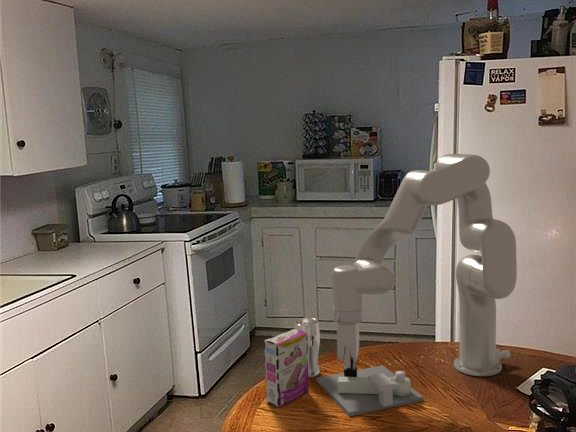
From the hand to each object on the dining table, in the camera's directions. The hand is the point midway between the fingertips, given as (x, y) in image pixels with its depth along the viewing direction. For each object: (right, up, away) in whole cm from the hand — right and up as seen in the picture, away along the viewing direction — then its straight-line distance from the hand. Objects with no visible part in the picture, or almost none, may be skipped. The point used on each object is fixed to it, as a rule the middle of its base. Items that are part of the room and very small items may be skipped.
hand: (350, 382), depth 146 cm
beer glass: (-10, -1, +12) cm, 16 cm away
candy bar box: (-16, -3, -3) cm, 17 cm away
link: (+5, -1, -4) cm, 7 cm away
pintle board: (+4, -2, -1) cm, 5 cm away
